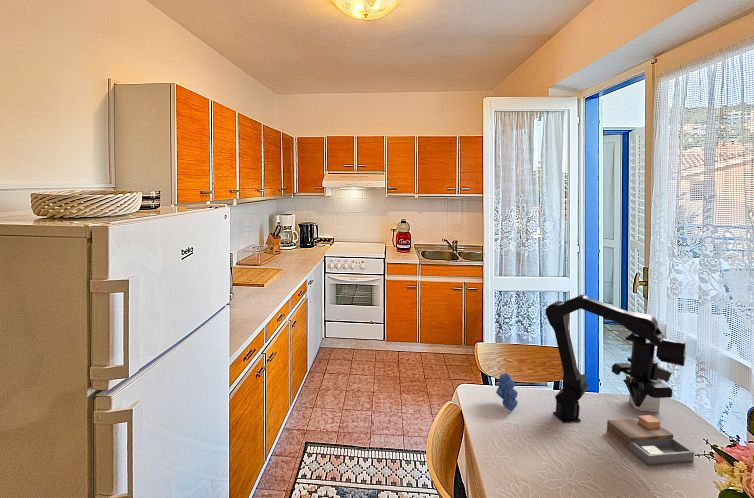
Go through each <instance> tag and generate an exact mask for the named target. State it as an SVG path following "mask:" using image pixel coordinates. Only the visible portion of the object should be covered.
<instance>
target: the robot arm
mask: <svg viewBox="0 0 754 498" xmlns="http://www.w3.org/2000/svg"><path fill="white" fill-rule="evenodd" d="M577 310H584V311H585V312H588V313H591V314H594V315H596V316H599V317H602V318H604V319H607V320H610V321H612V322H615V323H617V324H619V325H621V326H623V327H624V328H625V329H627V330H628V331H629V332H630V334H628V335H626V337H625V339H624V340H625V341H628V342H632V346H631V354H630V357H629V356H628V357H627V362H622V363H621V362H619V363H618V362H617V363H616V362H615V363H614V364H613V365H612V366H611V372H612V373H613V374H615V375H616V376H618V375H621V373H624V376H625V379H623V380H622V381H623V383H624V384H625V385H626V388H627V390H628V392H629V394H630V395H631V397H632V399H633V402H634V404H635V406H637V407H640V406H641V404H642V402H643V401H644V399H645V397H646V396H647V395H649V396H651V397H653V398H660V399H666V398H667V399H668V398H672V397H673V393H674V392H673V391H674V390H673V389H672V387H670V386H669V385H667V384H665V383H668V382H669V380H670V378H671V376H672V374H673V372H671V371H669V370H668V369H665V368H664V367H661V366H659V363H658V362H657V361H655V359H654V357H657V359H658V360H660V362H662V363H666V364H672V365H675V366H680V367H684V366H685V364H686V363H685V362H686V356H687V351H686V345H687V344H686V343H687V342H685V341H680V340H673V339H667V338H665V336H664V334H663V332H662V331H661V329H660V328H659V327H658V326H659V323H658V320H657V318H655V317H654V316H653V315H651V314H646V313H642V312H638V311H630V310H625V309H621V308H620V307H619V308H618V307H616V306H614V305H611V304H608V303H606V302H602V301H600V300H597V299H594V298H592V297H589V296H587V295H586V294H579V295H578V296H576V297H572V298H570V299H567V300H565V301H562V300H561V301H559V300H557V301H554V302H553V303H551V304H549V305H548V306H547V307H546V308H545V311H544V312H545V316H546V318H547V321H548V324H549V325H550V326H551V328H552V330H553V331H554V335H555V340H556V345H557V349H558V353H559V358H560V363H561V367H562V372H563V375H562V382H561V383H562V384H561V385H562V386H561V387H562V388H561V389H560V390H559V392H558V393H556V395H554V398H555V402H556V403H555V404H556V405H555V411H552V414H553V416H555V417H556V418H557V419H558V420H560V421H561V422H562V423H579V422H581V421H582V420H581V419H580V418H579V417H580V407H581V406H580V401H579V400H581V398H583V396H584V394H586V392H587V389H588V387H589V384H588V382H587V379H586V378H587V377H586V374H585V373H584V374H581V372H580V371H579V369H578V364H577V361H576V357H575V353H574V348H573V342H572V338H571V334H570V329H569V328H570V327H569V325H570V314H571V313H574V312H576V311H577ZM655 351H656V352H655ZM655 353H656V355H655ZM629 362H630V363H629ZM657 379H661V380H662V381H664V382H665V383H663V382H662V383H661V382H653V381H651V380H657Z"/></svg>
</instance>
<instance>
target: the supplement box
mask: <svg viewBox="0 0 754 498" xmlns="http://www.w3.org/2000/svg"><path fill="white" fill-rule="evenodd" d="M651 381H653V382H661V383H663V382H662V381H663V380H661V379H657V380H651ZM628 396H629V397H628V401H629V403H630V404H631V405H632V406H633V407H634V408H635V410H636V411H643V412H652V413H653V412H654V413H660V405H661V398H653V397H651V396H649V395H647V396H646V397H645V399H644V401H643V402H642V404H641V406H640V407H637V406H635V404H634V402H633V399H632V397H631V395H630V393H629V395H628Z"/></svg>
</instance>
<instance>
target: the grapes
mask: <svg viewBox="0 0 754 498" xmlns="http://www.w3.org/2000/svg"><path fill="white" fill-rule="evenodd" d="M515 385H516V383H515V381H514V380H512V377H511V376H510V374H509V373H506V372H505V373H502V374H500V376H499V378H498V383H497V389H496V392H495V394H496V395H497V396H498V397H499V398H500V399H502V403H501V404H502V405H503V407H504V408H506V409H507V410H508V411H509V412H513V411H514V410H515V408H517V406H518V403H519V402H518V400H517V399H516V398H517V397H518V394H519V393H518V391H517V390H516V389H514V388H515Z"/></svg>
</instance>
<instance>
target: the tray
mask: <svg viewBox="0 0 754 498" xmlns="http://www.w3.org/2000/svg"><path fill="white" fill-rule="evenodd" d="M641 446H655V447H656V448H658V449H659V450H660V451H662V452H663V453H661V454H648V453H647V452H646V451H644V450H643V449H642V448H641ZM628 451H629V452H630V453H631V454H632V455H634V456H635V457H636V458H638V459H639V460H640V461H641V462H642V463H644V464H645V465H647V467H650V466H651V467H652V466H664V465H665V466H666V465H675V464H686V463H694V460H695V459H694V458H695V451H693V450H692V449H690V448H689V447H688V446H686V445H684V444H683V443H681V442H680V441H678V440H677V439H675V438H674V437H673V438H666V439H652V440H639V441H630V449H629V450H628Z"/></svg>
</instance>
